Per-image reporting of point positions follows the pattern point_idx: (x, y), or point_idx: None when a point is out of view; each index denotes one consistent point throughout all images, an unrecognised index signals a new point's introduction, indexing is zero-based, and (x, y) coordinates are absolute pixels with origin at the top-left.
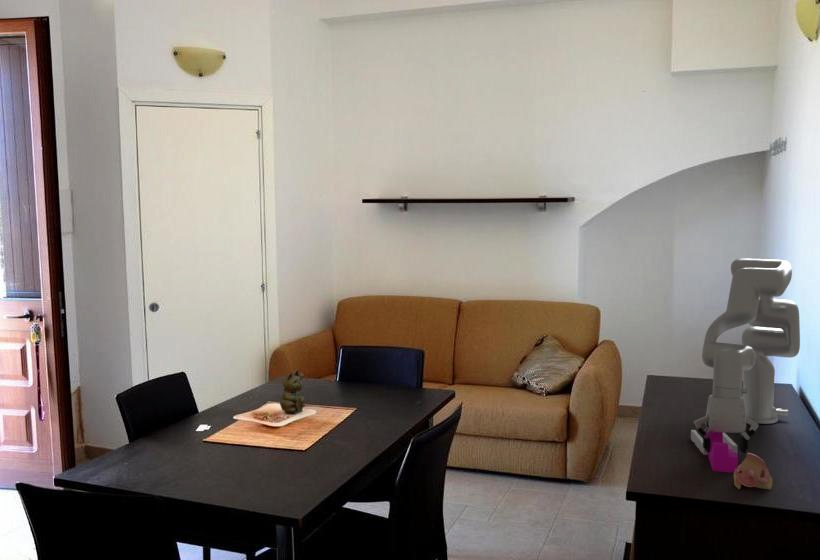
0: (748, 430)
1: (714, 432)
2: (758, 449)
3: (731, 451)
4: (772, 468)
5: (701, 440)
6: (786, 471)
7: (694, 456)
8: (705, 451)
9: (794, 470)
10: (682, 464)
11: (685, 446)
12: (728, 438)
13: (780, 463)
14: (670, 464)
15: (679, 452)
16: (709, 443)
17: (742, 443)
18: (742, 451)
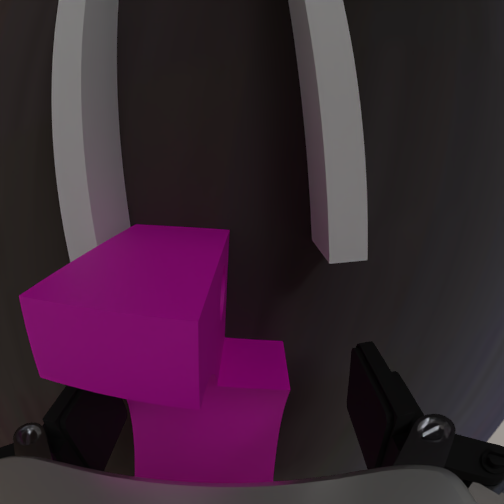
0: (471, 478)
1: (99, 389)
2: (485, 83)
3: (273, 400)
4: (437, 398)
5: (63, 159)
6: (465, 410)
7: None
8: None
9: (495, 388)
10: (46, 405)
11: (33, 100)
12: (331, 30)
13: (501, 320)
14: (15, 401)
15: (3, 236)
16: (104, 458)
17: (365, 439)
18: (349, 403)
